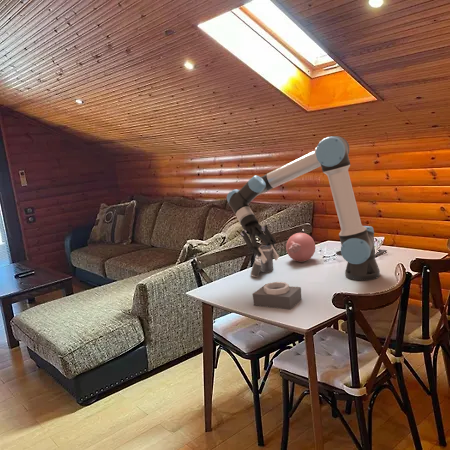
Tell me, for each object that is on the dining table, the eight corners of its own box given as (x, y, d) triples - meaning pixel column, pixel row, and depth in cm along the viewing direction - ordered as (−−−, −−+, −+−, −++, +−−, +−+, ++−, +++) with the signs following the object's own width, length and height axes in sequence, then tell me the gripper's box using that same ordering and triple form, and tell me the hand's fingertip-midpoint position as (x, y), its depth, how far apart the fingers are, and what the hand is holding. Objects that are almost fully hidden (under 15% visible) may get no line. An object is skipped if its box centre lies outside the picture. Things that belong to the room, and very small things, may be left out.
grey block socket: (301, 298, 184) (300, 282, 182) (290, 309, 174) (288, 292, 172) (266, 295, 192) (265, 279, 191) (253, 305, 182) (252, 289, 181)
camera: (248, 275, 219) (255, 256, 216) (251, 265, 234) (257, 247, 232) (266, 282, 218) (273, 263, 216) (268, 271, 234) (274, 253, 231)
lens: (275, 269, 196) (273, 244, 194) (270, 272, 191) (269, 247, 189) (264, 268, 198) (262, 244, 196) (259, 272, 194) (257, 247, 192)
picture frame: (336, 255, 244) (370, 260, 228) (336, 252, 244) (370, 256, 228) (352, 248, 254) (387, 253, 239) (352, 245, 254) (386, 249, 238)
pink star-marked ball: (276, 265, 235) (274, 237, 232) (297, 256, 249) (294, 229, 247) (302, 268, 225) (299, 239, 222) (321, 258, 239) (319, 230, 237)
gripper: (261, 220, 209) (285, 260, 198) (227, 227, 201) (250, 269, 189) (266, 210, 204) (291, 250, 192) (231, 217, 195) (255, 259, 184)
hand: (271, 259), depth 191 cm, fingers closed on lens, 5 cm apart
